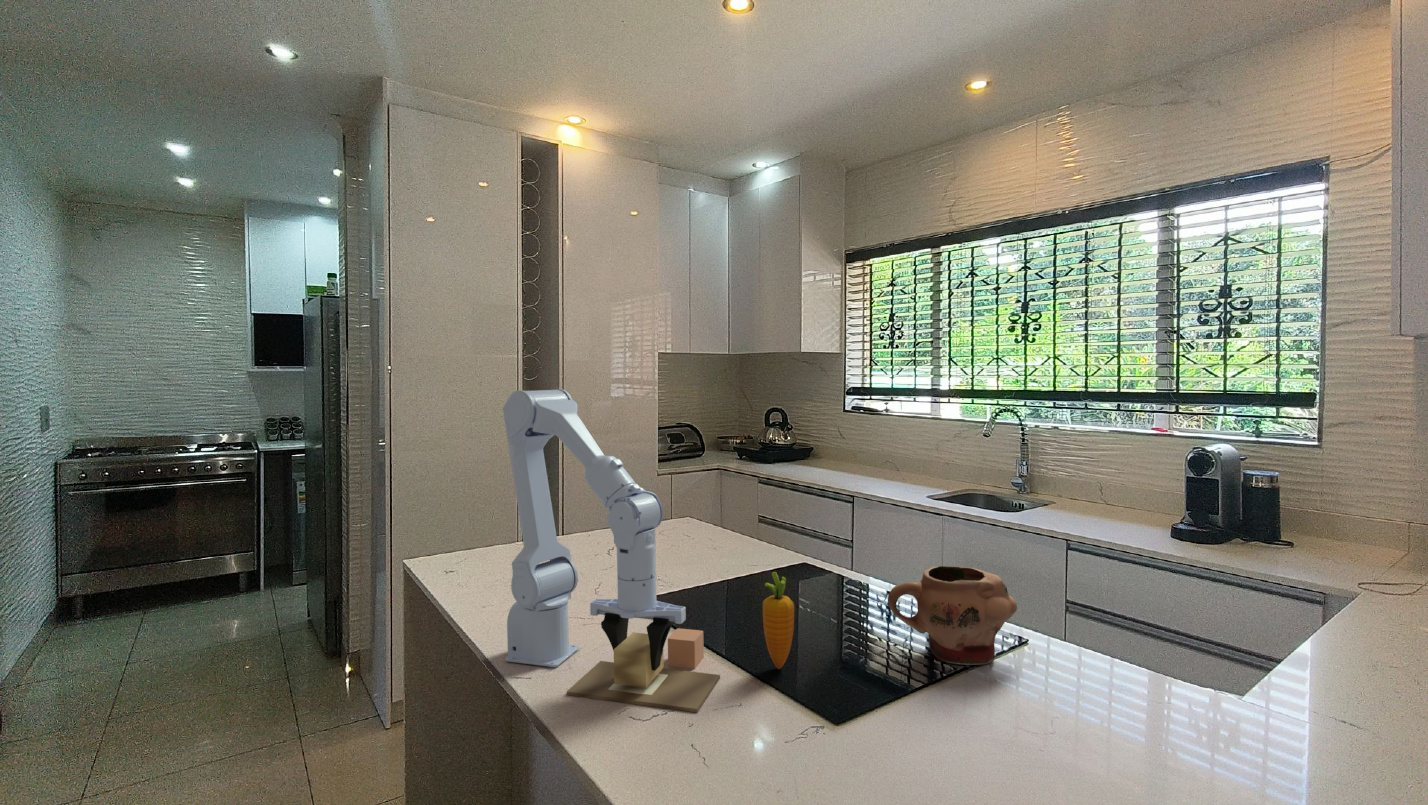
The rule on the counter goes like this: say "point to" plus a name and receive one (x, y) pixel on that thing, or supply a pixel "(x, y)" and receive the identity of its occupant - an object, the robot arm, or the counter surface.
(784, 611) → the carrot
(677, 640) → the terracotta cube
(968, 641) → the brown clay mug
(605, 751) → the counter surface
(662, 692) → the brown wooden board
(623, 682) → the oak block
